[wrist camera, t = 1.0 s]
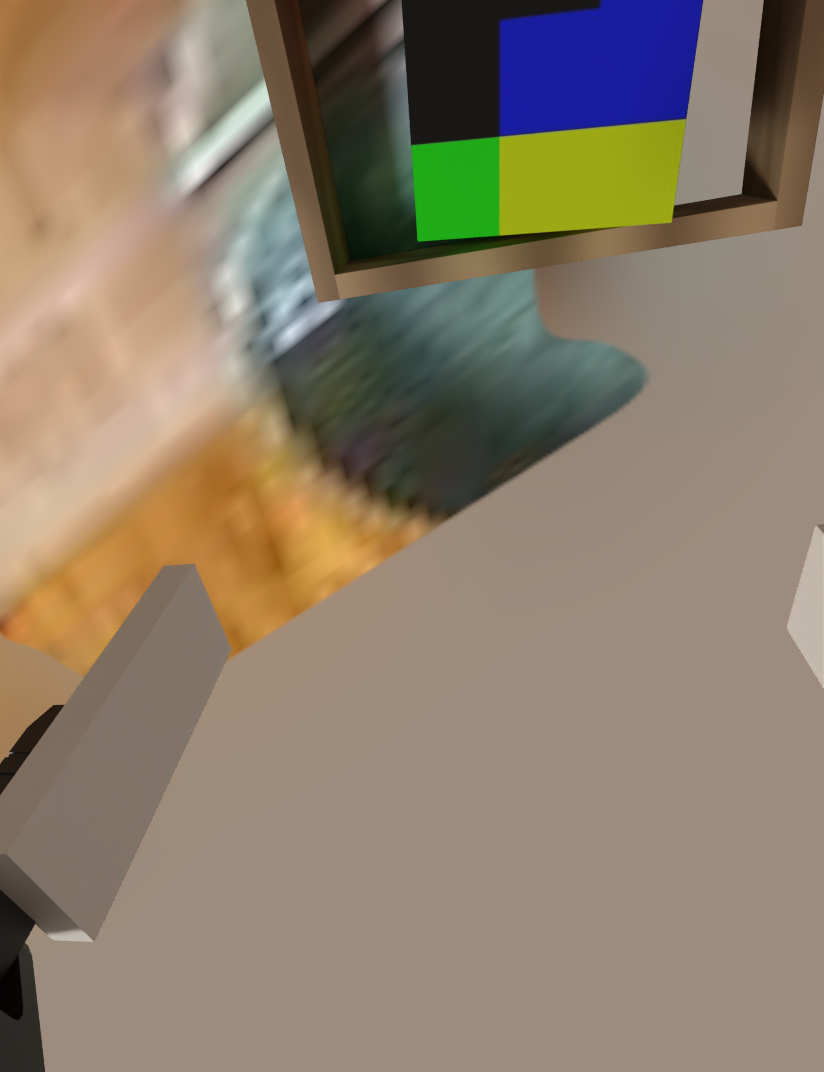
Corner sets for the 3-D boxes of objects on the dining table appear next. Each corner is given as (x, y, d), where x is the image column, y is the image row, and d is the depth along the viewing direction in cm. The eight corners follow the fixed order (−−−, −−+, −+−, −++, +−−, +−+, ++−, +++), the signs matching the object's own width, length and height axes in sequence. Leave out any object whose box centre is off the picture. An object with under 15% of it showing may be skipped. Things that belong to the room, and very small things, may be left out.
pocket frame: (335, 285, 35) (318, 302, 31) (263, -42, 27) (229, -72, 24) (763, 216, 31) (801, 225, 27) (817, -191, 23) (881, -256, 20)
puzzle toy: (647, -58, 26) (724, -154, 18) (621, 202, 31) (671, 222, 23) (421, -28, 27) (394, -104, 19) (433, 216, 33) (417, 241, 24)
